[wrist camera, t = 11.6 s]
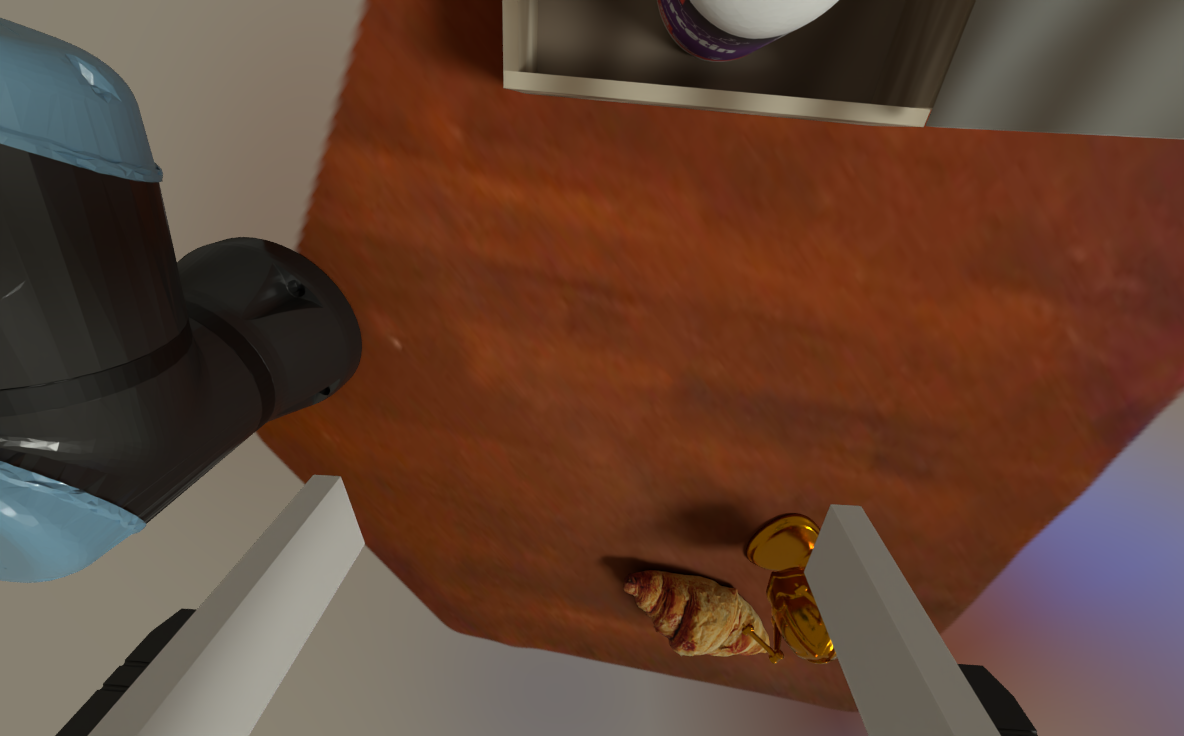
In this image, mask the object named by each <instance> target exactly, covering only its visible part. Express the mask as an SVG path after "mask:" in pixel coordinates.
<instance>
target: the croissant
mask: <svg viewBox="0 0 1184 736" xmlns="http://www.w3.org/2000/svg"><path fill="white" fill-rule="evenodd" d="M624 591H625V592H626V593H628V594H632V595H634V597H635V603H636V604H637V605H638V606H639V608H641V609H642V610H644V611H645V612H646V615H648V616H650V617H651V618H652V621H653V623H654V628H655V630H656V632H659V633H660V634H662V635H663V636H665V637H667V638H668V639H669V644H670V646H671V648H672V649H673V650H674V651H675V652H677V653H678V654H680V655H681V656H682V655H686V656H687V655H688V656H693V655H703V654H708V655H713V656H730V655H735V654H740V655H753V654H757V653H759V652H762V653H766V652H767V651H766V650H765V649H764V648H763V647H762V646H761V645H759V644H758V643H757V642H756V641H755V640H754V639H753V638H752V637H751V636H750V635H749V634H748V635H747V636H745V635H744V634H743V633H742V628H743V626H742V624H743V623H744V624H745V625H746V626H747V624H749V623H750V624H752V625H753V627H754V632H755V633H756V634H757V635H758V636H759V637H760V638H761V639H762V640H763V641H764V642H765V643H766V644H767V645H768V646H770V643H769V636H768V634H767V632H766V631H765V629H764V628H763V625H762V622H761V620H760V618H759V617H758V615H757V613H756V612H755V611H754V610H753V608H752V607H751V606H750V604H748V603H747V602H746V601H745V600H744V599H743V598H742V597H741V596H740V595H739V594H738V592H737V589H735V588H728V587H724V586H720V585H719V584H718V583H717V582H715V581H713V580H710V579H707V578H703V577H701V576H693V575H683V574H675V573H670V572H665V571H656V570H646V571H642V572H637V573H633V574H629V575H628V576H627V577H626V578H625V581H624Z"/></svg>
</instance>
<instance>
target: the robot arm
mask: <svg viewBox="0 0 1184 736" xmlns="http://www.w3.org/2000/svg"><path fill="white" fill-rule="evenodd" d="M162 178H163V172H162V169H161V168H160V167H159V166H158V165H157V164H156V163H155V162H154V160H153V157H152V153H151V150H150V146H149V143H148V139H147V135H146V132H145V129H144V125H143V121H142V118H141V114H140V110H139V107H138V104H137V101H136V99H135V97H134V95H133V93H132V91H131V89H130V88H129V87H128V85H127V84H126V83H125V82H124V80H123V79H122V78H121V77H120V76H119V75H118V74H117V73H116V72H115V71H114V70H113V69H112V68H111V67H109V66H108V65H106V64H105V63H104V62H102V61H101V60H100V59H98V58H97V57H95V56H93V55H91V54H90V53H88V52H86V51H85V50H83V49H81V48H79V47H77V46H74V45H72V44H70V43H68V42H65V41H63V40H60V39H58V38H56V37H53V36H50V35H47V34H45V33H42V32H39V31H36V30H33V29H31V28H28V27H25V26H22V25H19V24H17V23H14V22H11V21H8V20H5V19H2V18H0V580H2V581H10V582H23V583H31V582H43V581H50V580H54V579H58V578H61V577H65V576H68V575H70V574H73V573H76V572H78V571H80V570H82V569H84V568H85V567H87V566H89V565H90V564H92V563H93V562H94V561H96V560H97V559H98V558H100V557H101V556H102V555H104V554H105V553H106V552H108V551H109V550H110V549H112V548H113V547H114V546H116V545H117V544H119V543H120V542H121V541H123V540H124V539H125V538H127V537H128V536H130V535H131V534H135V533H138V532H140V531H141V530H142V529H143V528H144V527H145V526H146V524H147V523H148V522H149V521H150V520H151V519H153V518H154V517H155V516H156V515H157V514H158V513H160V512H161V511H162V510H163V509H164V508H166V507H167V506H168V505H169V504H170V503H171V502H173V501H174V500H175V499H176V498H177V497H178V496H180V495H181V494H182V493H183V492H184V491H186V490H187V489H188V488H189V487H190V486H192V484H194V483H195V482H196V481H197V480H199V479H200V478H201V477H202V476H203V475H205V474H206V473H207V472H208V471H209V470H210V469H212V468H213V467H214V466H215V465H216V464H217V463H219V462H220V461H221V460H222V459H223V458H225V457H226V456H227V455H228V454H229V453H231V452H232V451H233V450H234V449H235V448H236V447H238V446H239V445H240V444H241V443H242V442H243V441H245V440H246V439H247V438H248V437H249V436H251V435H252V434H253V433H254V432H255V431H257V430H258V429H259V428H260V427H262V426H263V425H264V424H265V423H267V422H268V421H271V420H273V419H276V418H279V417H281V416H284V415H287V414H290V413H292V412H295V411H298V410H300V409H303V408H306V407H308V406H311V405H314V404H316V403H319V402H321V401H323V400H325V399H327V398H328V397H330V396H331V395H333V394H334V393H335V392H336V391H337V390H339V389H340V388H341V387H342V386H343V385H344V384H345V383H346V382H347V381H348V380H349V379H350V378H351V377H352V376H353V374H354V373H355V371H356V369H357V367H358V365H359V362H360V358H361V351H362V341H361V334H360V329H359V325H358V322H357V319H356V317H355V314H354V312H353V310H352V308H351V306H350V304H349V303H348V301H347V300H346V298H345V296H344V295H343V294H342V292H341V291H340V290H339V288H338V287H337V286H336V285H335V283H334V282H333V281H332V280H331V279H330V278H329V277H328V276H327V275H326V274H325V273H324V272H323V271H322V270H321V269H319V268H318V267H317V266H316V265H314V264H313V263H312V262H310V261H309V260H308V259H306V258H305V257H303V256H301V255H300V254H298V253H296V252H295V251H293V250H291V249H289V248H286V247H284V246H282V245H279V244H277V243H274V242H270V241H267V240H262V239H257V238H249V237H238V238H230V239H226V240H222V241H219V242H215V243H212V244H209V245H206V246H202V247H200V248H197V249H195V250H193V251H192V252H190V253H188V254H187V255H185V256H184V257H183V258H182V259H181V260H180V261H178V262H176V258H175V253H174V248H173V244H172V239H171V235H170V230H169V225H168V221H167V216H166V212H165V207H164V203H163V198H162V194H161V189H160V185H159V182H161V181H162ZM364 545H365V543H364V540H363V537H362V534H361V532H360V529H359V526H358V523H357V520H356V518H355V515H354V512H353V509H352V507H351V504H350V501H349V498H348V495H347V493H346V490H345V487H344V484H343V481H342V479H341V476H324V475H313V476H312V477H311V479H310V480H309V481H308V482H307V483H306V484H305V485H304V487H303V488H302V489H301V490H300V491H299V492H298V494H297V495H296V496H295V497H294V498H293V499H292V501H291V502H290V503H289V504H288V505H287V506H286V507H285V509H284V510H283V511H282V512H281V513H280V514H279V515H278V517H277V518H276V519H275V520H274V521H273V523H272V524H271V525H270V526H269V527H268V528H267V529H266V530H265V532H264V533H263V534H262V535H261V536H260V537H259V539H258V540H257V541H256V542H255V543H254V544H253V546H252V547H251V548H250V549H249V550H248V551H247V552H246V554H245V555H244V556H243V557H242V558H241V559H240V561H239V562H238V563H237V564H236V565H235V566H234V567H233V569H232V570H231V571H230V572H229V573H228V574H227V575H226V577H225V578H224V579H223V580H222V581H221V582H220V584H219V585H218V586H217V587H216V588H215V589H214V591H213V592H212V593H211V594H210V595H209V596H208V597H207V599H206V600H205V601H204V602H203V603H202V605H200V607H199V608H198V609H197V610H193V609H181V610H179V611H178V612H177V613H175V614H174V615H173V616H171V617H170V618H169V619H167V620H166V621H165V622H163V623H162V624H161V625H159V626H158V627H157V628H155V629H154V630H153V631H151V632H150V633H149V634H148V636H147V637H146V638H145V639H144V640H143V641H142V642H141V643H140V644H139V645H138V646H137V647H136V649H135V650H134V651H133V652H132V653H131V654H130V655H129V656H128V657H127V658H126V659H125V663H124V665H122V666H119V667H118V668H117V669H116V670H115V671H114V672H113V674H112V675H111V676H110V677H109V678H108V679H107V680H106V681H105V682H104V683H103V687H102V688H101V689H100V690H97V691H96V692H95V693H94V694H93V695H92V696H91V698H90V699H89V700H88V701H87V702H86V703H85V704H84V705H83V706H82V707H81V709H80V710H79V711H78V712H77V713H76V714H75V715H74V716H73V717H72V718H71V719H70V720H69V722H68V723H67V724H66V725H65V726H64V727H63V728H62V729H61V730H60V731H59V732H58V734H56V736H249V734H250V733H251V731H252V729H253V727H254V726H255V724H256V723H257V721H258V719H259V718H260V716H261V714H262V713H263V711H264V709H265V708H266V706H267V705H268V703H269V701H270V700H271V698H272V696H273V695H274V693H275V691H276V690H277V688H278V686H279V685H280V683H281V681H282V680H283V678H284V677H285V675H286V673H287V671H288V670H289V668H290V667H291V665H292V663H293V662H294V660H295V658H296V657H297V655H298V653H299V652H300V650H301V648H302V647H303V645H304V644H305V641H306V640H307V639H308V637H309V635H310V633H311V632H312V630H313V629H314V627H315V625H316V624H317V622H318V620H319V619H320V617H321V615H322V614H323V612H324V611H325V609H326V607H327V606H328V604H329V602H330V601H331V599H332V597H333V596H334V594H335V592H336V591H337V589H338V587H339V586H340V584H341V582H342V581H343V579H344V578H345V576H346V574H347V572H348V571H349V569H350V567H351V566H352V564H353V563H354V561H355V559H356V558H357V556H358V554H359V553H360V551H361V550H362V548H363V546H364ZM804 574H805V576H806V579H807V581H808V584H809V586H810V589H811V591H812V594H813V596H814V599H815V601H816V604H817V607H818V609H819V612H820V614H821V617H822V619H823V622H824V624H825V627H826V629H827V632H828V634H829V637H830V639H831V642H832V644H833V647H834V649H835V652H836V655H837V657H838V660H839V662H840V665H841V667H842V670H843V672H844V675H845V677H846V680H847V682H848V685H849V687H850V690H851V692H852V695H853V697H854V700H855V703H856V705H857V708H858V710H859V713H860V715H861V718H862V720H863V723H864V725H865V728H866V730H867V733H868V735H869V736H1038V735H1037V731H1036V729H1035V728H1034V726H1033V725H1032V723H1031V722H1030V720H1029V719H1028V717H1027V716H1026V714H1025V713H1024V712H1023V710H1022V708H1021V707H1020V705H1019V704H1018V702H1017V701H1016V699H1015V698H1014V696H1013V695H1012V694H1011V693H1010V692H1009V691H1008V690H1007V689H1006V688H1004V686H1003V685H1002V684H1001V683H1000V682H999V681H998V680H997V679H996V678H994V676H992V674H991V673H990V672H988V670H987V669H986V668H984V667H983V666H978V665H965V664H957V663H956V661H955V660H954V658H953V657H952V655H951V653H950V652H949V650H948V648H947V647H946V645H945V643H944V642H943V640H942V638H941V637H940V635H939V633H938V632H937V630H936V628H935V627H934V625H933V624H932V622H931V620H930V619H929V617H928V615H927V614H926V612H925V610H924V609H923V607H922V605H921V604H920V602H919V601H918V599H917V597H916V596H915V594H914V592H913V591H912V589H911V587H910V586H909V584H908V583H907V581H906V579H905V578H904V576H903V574H902V573H901V571H900V569H899V568H898V566H897V564H896V563H895V561H894V560H893V558H892V556H891V555H890V553H889V551H888V550H887V548H886V546H885V545H884V543H883V542H882V540H881V538H880V537H879V535H878V533H877V532H876V530H875V528H874V527H873V525H872V523H871V522H870V520H869V519H868V517H867V515H866V514H865V512H864V510H863V509H862V507H861V506H849V505H830V508H829V510H828V513H827V515H826V518H825V520H824V523H823V525H822V528H821V530H820V533H819V535H818V538H817V540H816V543H815V545H814V548H813V550H812V553H811V556H810V558H809V561H808V563H807V566H806V568H805V571H804Z"/></svg>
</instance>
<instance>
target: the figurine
mask: <svg viewBox="0 0 1184 736" xmlns="http://www.w3.org/2000/svg"><path fill="white" fill-rule="evenodd" d="M819 533H820V528H819V527H818V526H817V525H816V523H815V522H814V521H813V520H811V519H810V518H809V517H807V516H805V515H801V514H788V515H784V516H781V517H779V518H776V519H774V520H773V521H771V522H769V523H768V524H766V525H765V526H763V527H762V528H761V529H760V530H759V531H758V532H757V533H756V534H755V535H754V536H753V537H752V538H751V540H750V541H749V543H748V545H747V548H746V555H747V558H748V559H749V561H750V562H752V563H753V564H755V565H757V566H759V567H762V568H765V569H769V570H776V571H777V572H774V571H773V572H772V573H771V576H770V579H769V582H768V586H767V590H766V594H767V598H768V601H769V602H770V603H771V607H772V617H771V622H772V624H773V626H774V628H773V630H774V650H773V649H772V648H771V647H769V646H768V645H767V644H766V643H765V642H764V641H763V640H762V639H761V638H760V637H759V636H758V635H757V634H756V633H755V632H754V627H753V625H752V624H750V623H749V624H747V626H746V625H745V624H744V623H743V624H742V626H743V628H742V633H743V634H744V635H745V636H747V635H748V634H749V635H750V636H751V637H752V638H753V639H754V640H755V641H756V642H757V643H758V644H759V645H761V646H762V647H763V648H764V649H765V650H766V651H767V652H768V653H769V659H770V661H771V662H772V663H774V664H776V663H777V662H778V661H779V660H782V659H783V658H784V654H783V652H782V651H781V650H780V646H781V637H783V638H784V640H785V641H786V643H787V644H788V645H789V647H790V648H791V649H792V651H793V652H794V653H795V654H797V655H798V656H799V657H801V658H803V659H807V660H808V661H810V662H812V663H816V664H825V663H828V662H831V661H833V660H834V659H836V658H838V657H837V655H836V652H835V649H834V647H833V644H832V642H831V639H830V637H829V634H828V632H827V629H826V627H825V624H824V622H823V619H822V617H821V614H820V612H819V609H818V607H817V604H816V601H815V599H814V596H813V594H812V591H811V589H810V586H809V584H808V581H807V579H806V576H805V574H804V571H805V568H806V566H807V563H808V561H809V558H810V556H811V553H812V550H813V548H814V545H815V543H816V540H817V538H818V535H819Z"/></svg>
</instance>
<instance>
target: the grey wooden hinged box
mask: <svg viewBox="0 0 1184 736" xmlns="http://www.w3.org/2000/svg"><path fill="white" fill-rule="evenodd" d="M502 7H503V75H504V88H506V89H510V90H514V91H518V92H522V93H526V94H537V95H548V96H558V97H569V98H580V99H591V100H601V101H612V102H623V103H634V104H644V105H655V106H666V107H677V108H687V109H698V110H709V111H720V112H730V113H741V114H752V115H762V116H773V117H784V118H795V119H805V120H816V121H827V122H838V123H848V124H859V125H870V126H906V127H924V124H925V122H926V119H927V117H928V114H929V112H930V109H932V111H931V114H930V116H929V119H928V121H927V124H926V126H931V127H945V128H965V129H985V130H1005V131H1026V132H1046V133H1066V134H1086V135H1107V136H1127V137H1147V138H1167V139H1184V0H839V1H838V2H837V3H835V4H834V5H833V6H832V7H831V8H830V9H829V10H827V11H826V12H825V13H823V14H822V15H821V16H819V17H818V18H816V19H815V20H813V21H811V22H810V23H808V24H806V25H804V26H802V27H801V28H799V29H797V30H795V31H793V32H790V33H788V34H786V35H785V36H783V37H781V38H779V39H777V40H775V41H773V42H771V43H769V44H767V45H765V46H763V47H761V48H759V49H758V50H756V51H754V52H752V53H750V54H748V55H746V56H744V57H741V58H738V59H735V60H731V61H725V62H711V61H705V60H702V59H699V58H696V57H694V56H692V55H690V54H689V53H687V52H686V51H684V50H683V49H682V48H681V47H680V46H679V45H678V44H677V43H676V42H675V41H674V40H673V39H672V37H671V36H670V34H669V33H668V31H667V29H666V27H665V25H664V23H663V21H662V18H661V15H660V12H659V9H658V4H657V0H502Z"/></svg>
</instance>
